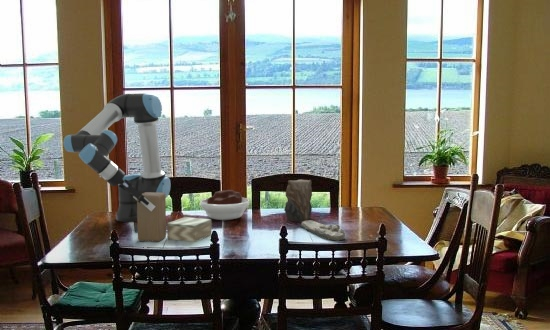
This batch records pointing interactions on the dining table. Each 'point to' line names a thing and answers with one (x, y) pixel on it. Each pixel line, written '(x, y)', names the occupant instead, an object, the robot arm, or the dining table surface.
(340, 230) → the elongated rock
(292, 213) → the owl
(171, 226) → the birch step
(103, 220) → the dining table surface
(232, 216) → the white bowl of dessert
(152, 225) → the wooden block
